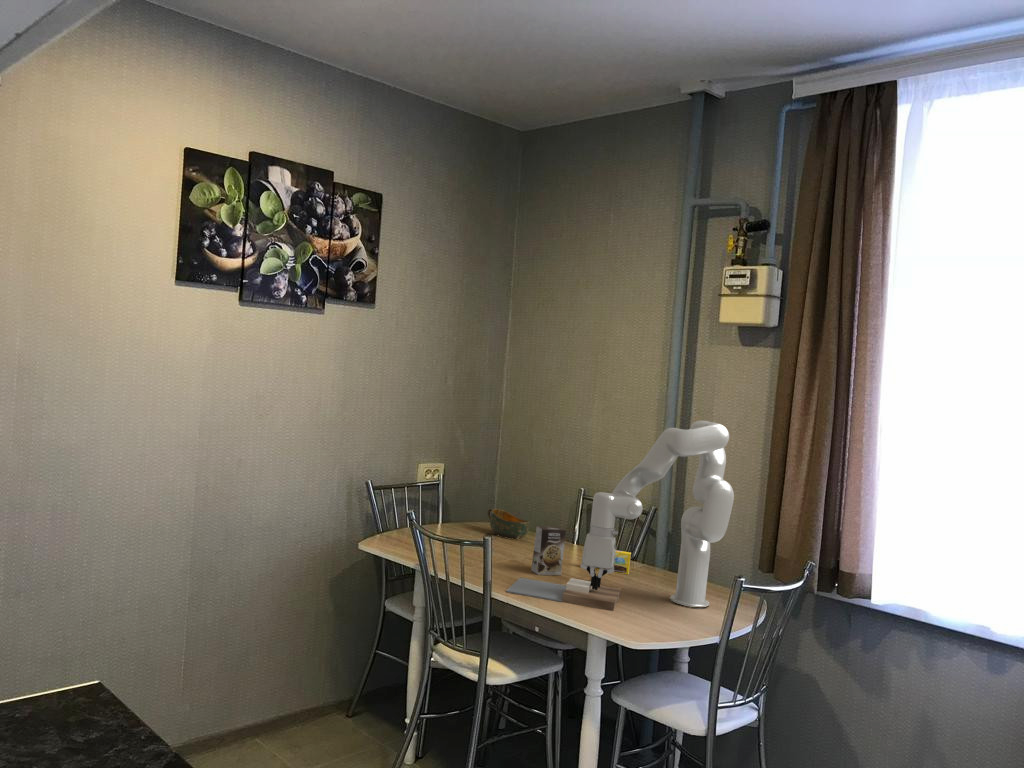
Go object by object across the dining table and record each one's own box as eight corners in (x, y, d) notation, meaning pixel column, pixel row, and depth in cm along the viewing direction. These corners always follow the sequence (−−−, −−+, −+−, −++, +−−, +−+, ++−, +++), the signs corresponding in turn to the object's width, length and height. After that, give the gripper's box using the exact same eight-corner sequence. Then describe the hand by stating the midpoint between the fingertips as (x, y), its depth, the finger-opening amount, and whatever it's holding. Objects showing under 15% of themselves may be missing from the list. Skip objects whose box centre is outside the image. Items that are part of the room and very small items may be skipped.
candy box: (584, 568, 308) (586, 546, 307) (585, 567, 310) (587, 545, 309) (628, 575, 304) (630, 553, 304) (628, 574, 306) (631, 552, 306)
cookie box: (538, 575, 289) (543, 529, 289) (530, 570, 295) (535, 525, 295) (561, 575, 293) (566, 530, 292) (554, 570, 299) (559, 526, 298)
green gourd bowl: (510, 530, 363) (513, 507, 363) (530, 542, 345) (533, 517, 344) (483, 530, 358) (486, 507, 357) (502, 541, 339) (504, 517, 339)
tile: (570, 584, 272) (571, 578, 271) (591, 587, 270) (592, 581, 270) (565, 589, 264) (566, 583, 264) (587, 593, 262) (588, 587, 262)
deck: (572, 588, 276) (573, 580, 276) (620, 596, 272) (621, 589, 272) (562, 601, 259) (563, 593, 259) (613, 610, 255) (614, 602, 255)
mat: (520, 579, 281) (520, 577, 281) (572, 588, 277) (572, 586, 277) (506, 592, 263) (506, 590, 263) (561, 602, 258) (562, 600, 258)
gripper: (626, 533, 267) (619, 590, 267) (580, 526, 270) (573, 582, 271) (623, 537, 260) (616, 595, 260) (576, 530, 263) (569, 587, 264)
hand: (594, 588), depth 265 cm, fingers closed
